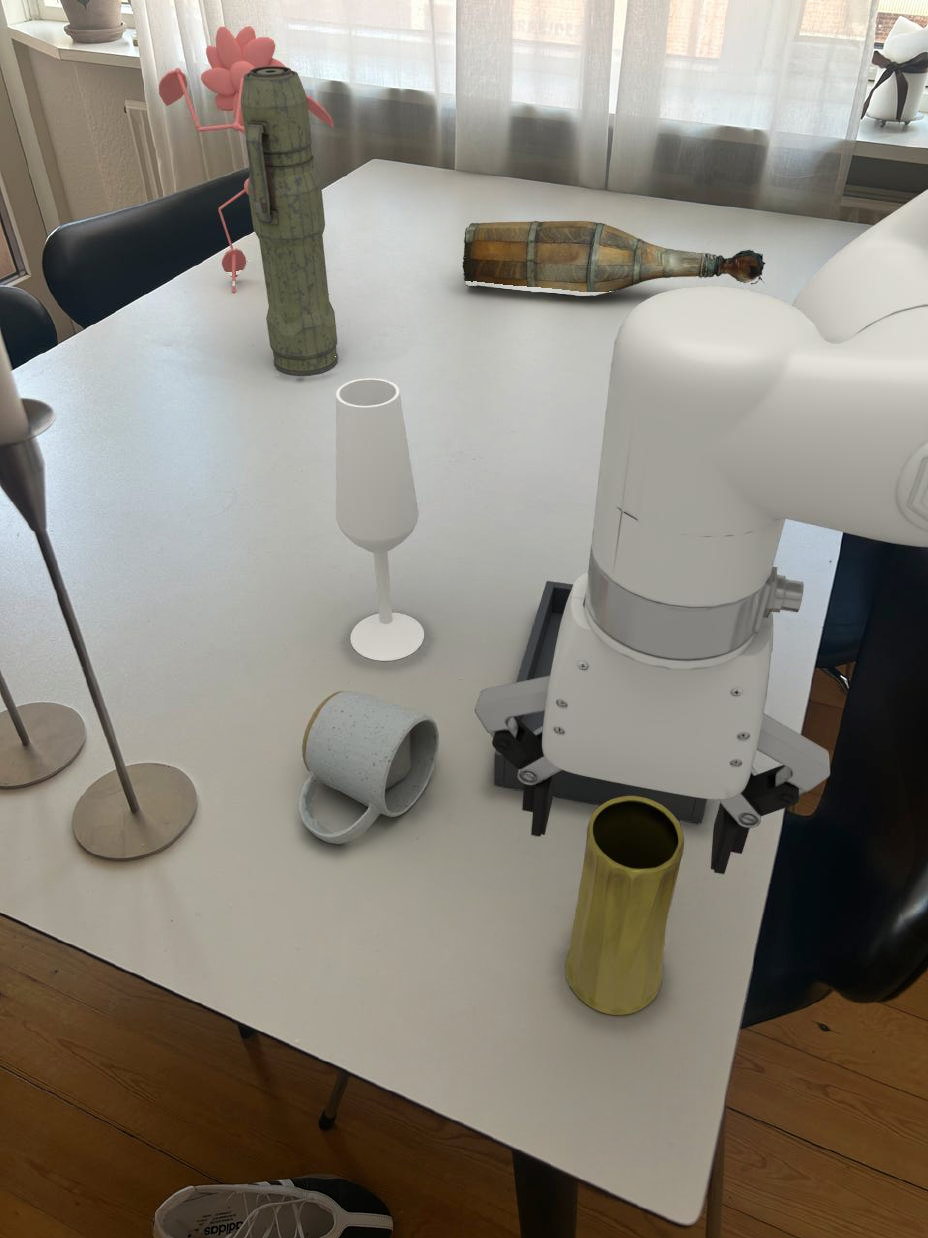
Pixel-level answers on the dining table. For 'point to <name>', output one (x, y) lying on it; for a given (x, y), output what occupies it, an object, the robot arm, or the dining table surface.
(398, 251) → the dining table surface
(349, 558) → the dining table surface
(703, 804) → the tray
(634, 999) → the vase
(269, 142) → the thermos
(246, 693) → the dining table surface
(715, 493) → the robot arm
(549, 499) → the dining table surface
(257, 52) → the figurine
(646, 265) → the decorative bottle
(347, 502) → the champagne flute
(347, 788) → the ceramic mug
